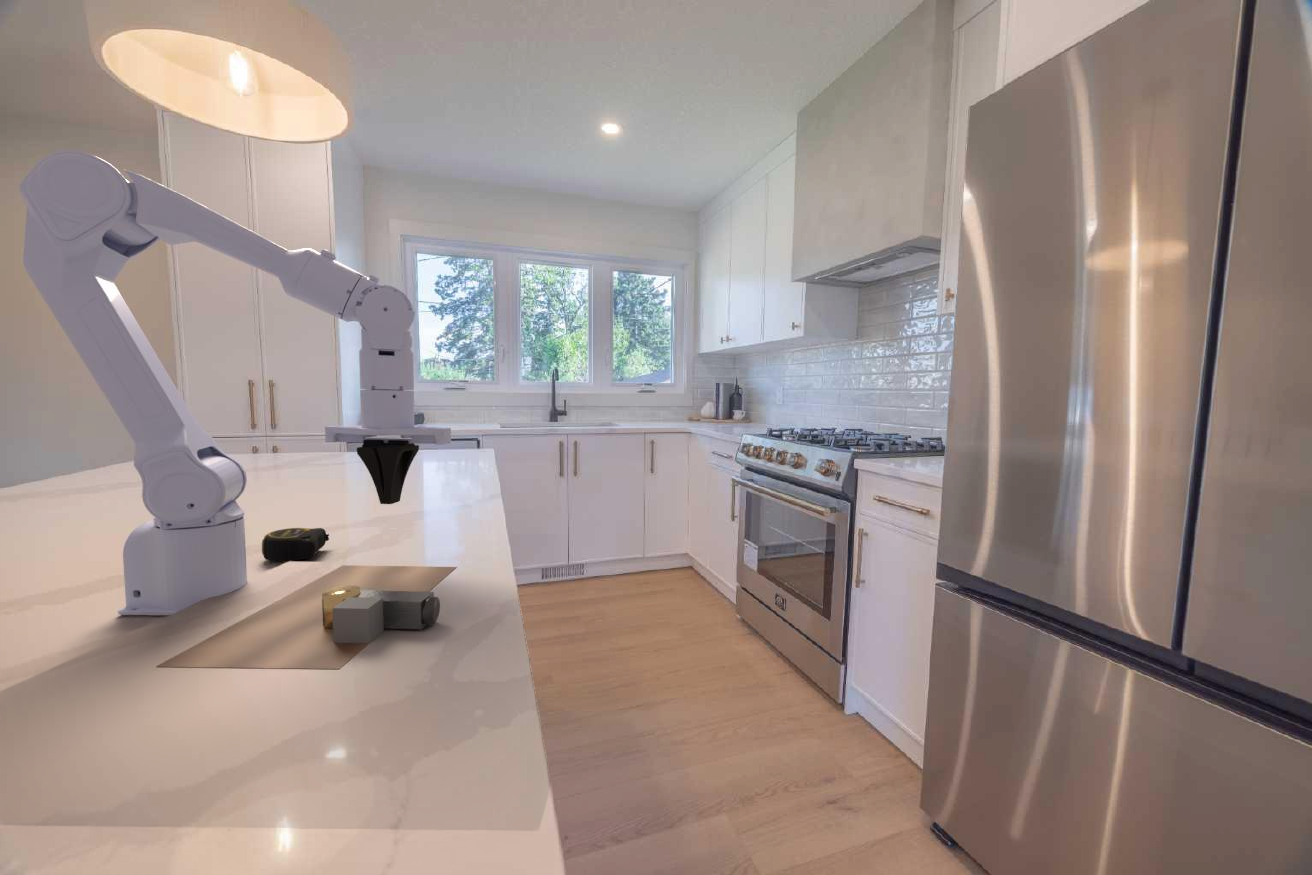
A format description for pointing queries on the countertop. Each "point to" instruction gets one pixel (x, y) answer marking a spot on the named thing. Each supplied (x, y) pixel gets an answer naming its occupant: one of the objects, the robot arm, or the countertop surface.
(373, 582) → the wooden board
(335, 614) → the block
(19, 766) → the countertop surface
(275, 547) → the tape measure
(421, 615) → the gold-capped grey rod
